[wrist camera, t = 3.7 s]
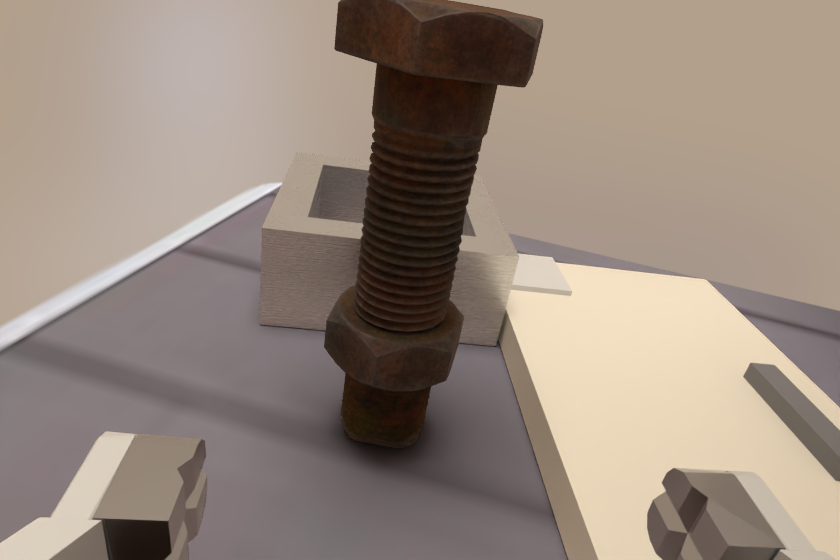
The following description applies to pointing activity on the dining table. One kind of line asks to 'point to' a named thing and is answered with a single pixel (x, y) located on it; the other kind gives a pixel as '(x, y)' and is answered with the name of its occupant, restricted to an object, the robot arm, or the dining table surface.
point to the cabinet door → (658, 402)
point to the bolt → (416, 197)
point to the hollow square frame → (340, 243)
